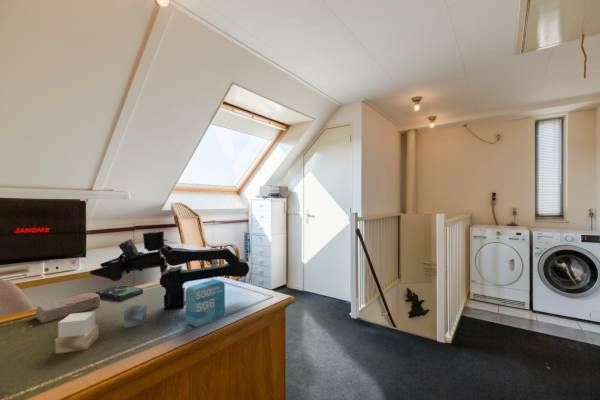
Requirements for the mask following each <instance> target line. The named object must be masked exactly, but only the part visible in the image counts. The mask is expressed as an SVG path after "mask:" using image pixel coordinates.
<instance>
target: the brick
mask: <svg viewBox="0 0 600 400" xmlns="http://www.w3.org/2000/svg"><path fill="white" fill-rule="evenodd" d="M100 305H101V298H100V296H99V295H98V294H96V292H95V293H93V292H86V293H82V294H81V293H80V294H77V295H75V296H72V297H69V298H65V299H64V298H63V299H60V300H55V301H50V302H45V303H43V304H40V305H38V306H37V307H36V310H35V316H36V319H37V320H39V322H41V323H47V322H50V321H54V320H57V319H61V318H66V317H67V316H68V315H70V314H74V313H84V312H88V311H89V310H90V311H91V310H92V309H95V308H97V307H99V306H100Z"/></svg>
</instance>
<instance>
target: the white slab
mask: <svg viewBox="0 0 600 400" xmlns="http://www.w3.org/2000/svg"><path fill="white" fill-rule="evenodd" d="M57 324H58V325H57V329H58V333H57V335H58V336H57V338H63V337H72V336H81V335H86V334H87V333H88V332H89V331H90V330H91V329H92V328H93V327H94V326H95V325H96V311H83V312H79V313H74V314H70V315H68V316H65V317H63V319H61V320H60V321H59V322H58V323H57Z"/></svg>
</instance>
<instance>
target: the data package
mask: <svg viewBox="0 0 600 400" xmlns="http://www.w3.org/2000/svg"><path fill="white" fill-rule="evenodd" d="M225 286H226V285H225V283H224V281H221V280H217V279H211V280H208V281H204V282H200V283H197V284H193V285H190V286H188V287H187V288H185V301H186V303H185V322H186V324H187V325H191V326H193V327H195V328H198V327H197V326H199V327H200V325H201V326H203V325H206V324H208V323H210V322H213V321H214V319H215V320H218V319H220V318H222V317H223V316H224V315H225V312H226V299H225V298H226V297H225V295H226V291H225V290H226V289H225ZM221 316H222V317H221ZM219 317H220V318H219ZM217 318H218V319H217ZM212 320H213V321H212ZM209 321H210V322H209ZM207 322H208V323H207ZM205 323H206V324H205ZM202 324H203V325H202Z"/></svg>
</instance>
